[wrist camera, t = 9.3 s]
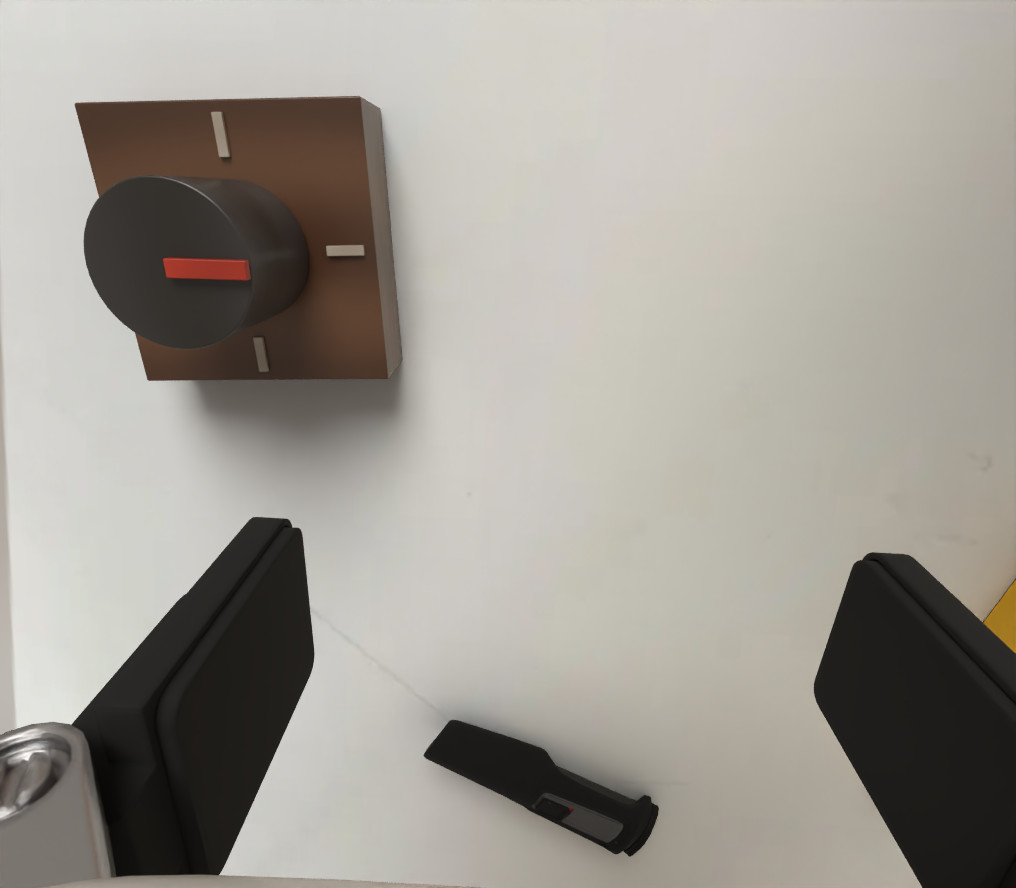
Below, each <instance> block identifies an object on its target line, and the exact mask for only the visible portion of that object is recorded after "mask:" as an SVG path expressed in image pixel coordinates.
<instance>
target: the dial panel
mask: <svg viewBox="0 0 1016 888" xmlns="http://www.w3.org/2000/svg"><path fill="white" fill-rule="evenodd" d="M75 108H76V111H77V115H78V119H79V123H80V127H81V130H82V134H83V138H84V142H85V145H86V149H87V153H88V157H89V161H90V164H91V168H92V172H93V176H94V179H95V183H96V187H97V191H98V194H99V197H100V196H101V195H102V194H103V193H104V192H105V191H106V190H107V189H109V188H110V187H111V186H113V185H114V184H116V183H118V182H119V181H122V180H124V179H127V178H130V177H134V176H139V175H167V176H185V177H204V178H222V179H236V180H243V181H247V182H251V183H253V184H256V185H258V186H260V187H262V188H264V189H266V190H268V191H269V192H271V193H272V194H274V195H275V196H276V197H277V198H278V199H280V200H281V201H282V202H283V203H284V204H285V205H286V206H287V208H288V209H289V210H290V211H291V212H292V214H293V215H294V217H295V218H296V220H297V222H298V223H299V225H300V227H301V229H302V232H303V234H304V237H305V240H306V244H307V249H308V257H309V266H308V274H307V279H306V282H305V285H304V287H303V290H302V291H301V293H300V295H299V296H298V298H297V299H296V300H295V302H294V303H293V304H292V305H291V306H290V307H288V308H287V309H286V310H284V311H283V312H281V313H279V314H277V315H275V316H273V317H271V318H269V319H267V320H264V321H262V322H260V323H258V324H256V325H254V326H252V327H250V328H248V329H246V330H244V331H241V332H239V333H237V334H235V335H233V336H231V337H229V338H227V339H225V340H223V341H221V342H219V343H216V344H214V345H211V346H208V347H204V348H199V349H177V348H172V347H167V346H163V345H160V344H157V343H154V342H152V341H150V340H148V339H146V338H144V337H142V336H140V335H139V334H137V333H135V334H136V338H137V342H138V346H139V349H140V353H141V357H142V361H143V364H144V368H145V372H146V376H147V379H148V380H149V381H167V380H295V379H388V378H389V377H390V375H391V374H392V373H393V371H394V370H395V369H396V367H397V366H398V365H399V363H400V362H401V361H402V351H401V340H400V329H399V317H398V306H397V295H396V284H395V272H394V261H393V250H392V238H391V227H390V216H389V205H388V193H387V182H386V171H385V159H384V148H383V137H382V125H381V114H380V108H378V107H377V106H375V105H373V104H372V103H370V102H368V101H367V100H365V99H363V98H362V97H360V96H340V97H298V98H255V99H213V100H171V101H128V102H86V103H75Z"/></svg>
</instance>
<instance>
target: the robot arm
mask: <svg viewBox="0 0 1016 888" xmlns="http://www.w3.org/2000/svg"><path fill="white" fill-rule="evenodd" d="M313 662H314V644H313V634H312V625H311V615H310V605H309V595H308V585H307V575H306V566H305V556H304V546H303V537H302V532H301V530H300V529H299V528H292V524H291V522H290V521H289V520H288V519H280V518H263V517H253V518H251V519H250V520H249V521H248V522H247V523H246V525H245V526H244V527H243V528H242V529H241V531H240V532H239V533H238V534H237V535H236V536H235V538H234V539H233V540H232V541H231V542H230V543H229V545H228V546H227V547H226V548H225V549H224V550H223V552H222V553H221V554H220V555H219V556H218V558H217V559H216V560H215V561H214V562H213V563H212V565H211V566H210V567H209V568H208V569H207V570H206V572H205V573H204V574H203V575H202V576H201V578H200V579H199V580H198V581H197V582H196V583H195V585H194V586H193V587H192V588H191V589H190V590H189V592H188V593H187V594H185V595H184V596H183V597H182V598H180V599H179V600H178V601H177V602H176V604H175V605H174V606H173V607H172V608H171V609H170V611H169V612H168V613H167V614H166V615H165V616H164V618H163V619H162V620H161V621H160V622H159V623H158V624H157V626H156V627H155V628H154V629H153V630H152V631H151V633H150V634H149V635H148V636H147V637H146V638H145V640H144V641H143V642H142V643H141V644H140V645H139V647H138V648H137V649H136V650H135V651H134V652H133V654H132V655H131V656H130V657H129V658H128V659H127V661H126V662H125V663H124V664H123V665H122V666H121V668H120V669H119V670H118V671H117V672H116V673H115V675H114V676H113V677H112V678H111V679H110V680H109V682H108V683H107V684H106V685H105V686H104V687H103V689H102V690H101V691H100V692H99V693H98V694H97V696H96V697H95V698H94V699H93V700H92V701H91V703H90V704H89V705H88V706H87V707H86V708H85V710H84V711H83V712H82V713H81V714H80V715H79V717H78V718H77V719H76V720H75V721H74V722H73V724H72V725H70V724H63V723H56V722H49V723H40V724H31V725H28V726H25V727H21V728H18V729H15V730H11V731H9V732H6V733H4V734H2V735H0V888H478V887H460V886H442V885H424V884H406V883H388V882H370V881H352V880H333V879H306V878H278V877H251V876H223V875H219V874H220V873H221V871H222V869H223V867H224V865H225V863H226V861H227V859H228V857H229V855H230V852H231V850H232V848H233V846H234V843H235V841H236V839H237V837H238V835H239V832H240V830H241V828H242V826H243V823H244V821H245V819H246V817H247V815H248V812H249V810H250V808H251V806H252V803H253V801H254V799H255V797H256V794H257V792H258V790H259V788H260V786H261V783H262V781H263V779H264V777H265V774H266V772H267V770H268V768H269V766H270V763H271V761H272V759H273V757H274V754H275V752H276V750H277V748H278V746H279V743H280V741H281V739H282V737H283V734H284V732H285V730H286V728H287V726H288V723H289V721H290V719H291V717H292V714H293V712H294V710H295V708H296V706H297V703H298V701H299V699H300V697H301V694H302V692H303V690H304V688H305V686H306V683H307V681H308V679H309V677H310V674H311V671H312V668H313ZM814 694H815V698H816V702H817V704H818V706H819V708H820V710H821V711H822V713H823V715H824V717H825V718H826V720H827V722H828V724H829V725H830V727H831V729H832V730H833V732H834V734H835V736H836V737H837V739H838V741H839V743H840V744H841V746H842V748H843V750H844V751H845V753H846V755H847V757H848V758H849V760H850V762H851V764H852V765H853V767H854V769H855V771H856V772H857V774H858V776H859V778H860V779H861V781H862V783H863V785H864V786H865V788H866V790H867V792H868V793H869V795H870V797H871V799H872V800H873V802H874V804H875V806H876V807H877V809H878V811H879V813H880V814H881V816H882V818H883V820H884V821H885V823H886V825H887V827H888V828H889V830H890V832H891V833H892V835H893V837H894V839H895V840H896V842H897V844H898V846H899V847H900V849H901V851H902V853H903V854H904V856H905V858H906V860H907V861H908V863H909V865H910V867H911V868H912V870H913V872H914V874H915V875H916V877H917V879H918V881H919V882H920V884H921V886H922V888H1016V653H1015V652H1014V651H1012V650H1011V649H1010V648H1009V647H1008V646H1007V645H1006V644H1005V643H1004V642H1003V641H1002V640H1001V639H1000V638H999V637H998V636H996V635H995V634H994V633H993V632H992V631H991V630H990V629H989V628H988V627H987V626H986V625H985V624H984V623H983V622H981V621H980V620H979V619H978V618H977V617H976V616H975V615H974V614H973V613H972V612H971V611H970V610H969V609H968V608H967V607H965V606H964V605H963V604H962V603H961V602H960V601H959V600H958V599H957V598H956V597H955V596H954V595H953V594H952V593H950V592H949V591H948V590H947V589H946V588H945V587H944V586H943V585H942V584H941V583H940V582H939V581H938V580H937V579H936V578H934V577H933V576H932V575H931V574H930V573H929V572H928V571H927V570H926V569H925V568H924V567H923V566H922V565H921V564H919V563H918V562H917V561H916V560H915V559H914V558H913V557H911V556H910V555H905V554H891V553H874V552H872V553H869V554H867V555H866V556H865V557H864V558H863V560H860V561H857V562H856V563H855V564H854V565H853V567H852V570H851V573H850V576H849V579H848V582H847V585H846V588H845V591H844V594H843V597H842V600H841V603H840V606H839V609H838V612H837V615H836V618H835V621H834V624H833V627H832V630H831V633H830V636H829V639H828V642H827V645H826V648H825V651H824V654H823V657H822V660H821V663H820V666H819V669H818V672H817V675H816V678H815V682H814Z"/></svg>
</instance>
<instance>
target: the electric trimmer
mask: <svg viewBox="0 0 1016 888" xmlns="http://www.w3.org/2000/svg"><path fill="white" fill-rule="evenodd" d="M424 757H425V758H426V759H428V760H430V761H432V762H435V763H437V764H439V765H441V766H443V767H445V768H447V769H449V770H451V771H453V772H455V773H457V774H459V775H461V776H463V777H466V778H468V779H470V780H472V781H474V782H476V783H478V784H480V785H482V786H484V787H486V788H488V789H490V790H492V791H495V792H497V793H499V794H501V795H503V796H505V797H507V798H509V799H510V800H512V801H514V802H516V803H518V804H520V805H522V806H524V807H525V808H527V809H528V810H530V811H531V812H533V813H535V814H537V815H539V816H542V817H544V818H546V819H548V820H550V821H552V822H554V823H556V824H558V825H560V826H562V827H564V828H566V829H568V830H570V831H572V832H574V833H576V834H578V835H580V836H582V837H584V838H586V839H588V840H591V841H593V842H595V843H597V844H599V845H601V846H603V847H604V848H606V849H607V850H609V851H610V852H612V853H613V854H619V853H621V852H622V851H624V852H625V853H626V854H627V855H628V856H629V857H630V856H632V855H634V854H635V853H636V852H637V851H638V850H639V849H641V847H642V846H643V845H644V844H645V842H646V841H647V839H648V838H649V836H650V834H651V832H652V829H653V827H654V825H655V822H656V819H657V816H658V810H659V808H658V806H657V805H655V804H653V803H652V802H651V797H649V796H647V795H644V796H643V797H641V798H640V799H639V800H637V801H635V800H633V799H630V798H627V797H625V796H623V795H621V794H618V793H616V792H614V791H612V790H610V789H607V788H605V787H603V786H601V785H598V784H596V783H594V782H592V781H590V780H587V779H585V778H583V777H581V776H578V775H576V774H574V773H572V772H569V771H567V770H565V769H563V768H561V767H558V766H556V765H555V764H554V762H553V761H552V759H551V758H550V756H549V755H548V753H547V752H546V751H545V750H544V749H542V748H539V747H537V746H534V745H531V744H528V743H525V742H522V741H519V740H517V739H514V738H511V737H508V736H505V735H501V734H498V733H495V732H492V731H489V730H486V729H483V728H480V727H477V726H473V725H470V724H467V723H464V722H461V721H458V720H450V721H449V722H448V724H447V725H446V726H445V728H444V729H443V730H442V731H441V733H440V734H439V735H438V736H437V738H436V739H435V740H434V741H433V742H432V743H431V745H430V746H429V747H428V749H427V750H426V752H425V753H424Z"/></svg>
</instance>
